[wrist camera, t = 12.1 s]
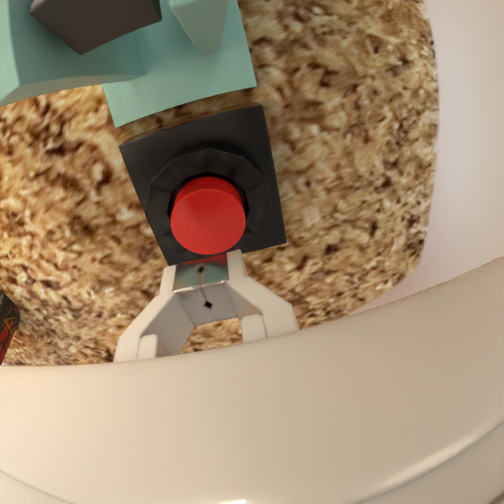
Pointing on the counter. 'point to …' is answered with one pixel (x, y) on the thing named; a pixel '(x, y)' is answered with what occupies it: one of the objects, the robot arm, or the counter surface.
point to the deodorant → (7, 323)
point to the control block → (208, 174)
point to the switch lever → (94, 19)
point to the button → (208, 215)
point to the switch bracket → (131, 59)
